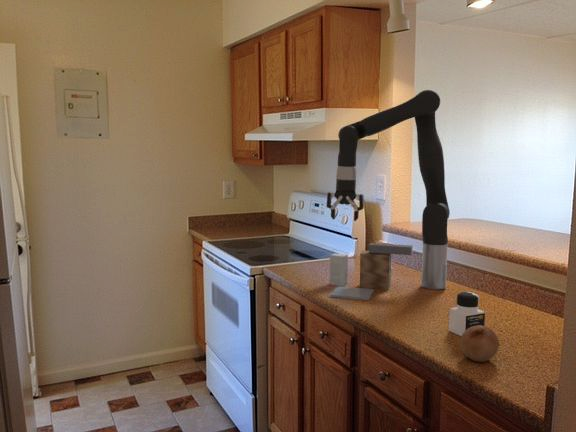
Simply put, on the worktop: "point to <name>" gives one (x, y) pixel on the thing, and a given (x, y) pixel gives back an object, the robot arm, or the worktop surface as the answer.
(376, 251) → the bar
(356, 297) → the slate pad
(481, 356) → the onion
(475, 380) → the worktop surface
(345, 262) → the skincare box
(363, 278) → the walnut block
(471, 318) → the medicine bottle
